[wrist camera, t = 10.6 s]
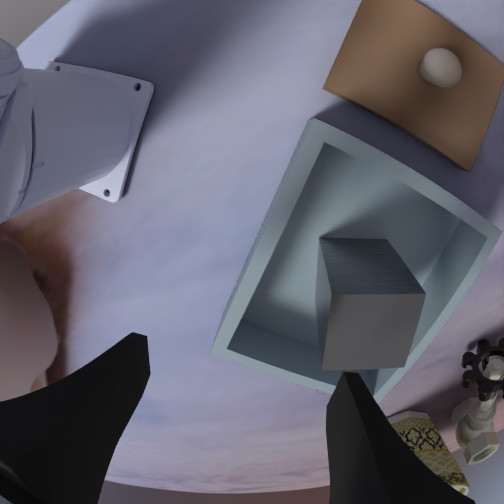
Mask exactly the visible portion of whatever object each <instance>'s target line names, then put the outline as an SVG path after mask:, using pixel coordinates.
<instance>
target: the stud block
mask: <svg viewBox="0 0 504 504" xmlns="http://www.w3.org/2000/svg"><path fill="white" fill-rule="evenodd" d="M503 82H504V66H503V65H502V64H501V63H500V62H499V61H498V60H497V59H495V58H494V57H493V56H492V55H491V54H490V53H488V52H487V51H486V50H485V49H484V48H482V47H481V46H480V45H479V44H477V43H476V42H475V41H474V40H472V39H471V38H470V37H468V36H467V35H466V34H464V33H463V32H462V31H460V30H459V29H458V28H456V27H455V26H453V25H452V24H451V23H449V22H448V21H446V20H445V19H443V18H442V17H440V16H439V15H437V14H436V13H434V12H433V11H431V10H430V9H428V8H426V7H425V6H423V5H421V4H420V3H418V2H416V1H415V0H362V1H361V3H360V5H359V8H358V10H357V12H356V14H355V17H354V19H353V21H352V23H351V26H350V28H349V30H348V32H347V35H346V37H345V39H344V41H343V44H342V46H341V48H340V50H339V53H338V55H337V57H336V59H335V62H334V64H333V66H332V68H331V71H330V73H329V75H328V77H327V80H326V82H325V84H324V86H323V89H324V90H326V91H328V92H331V93H333V94H335V95H337V96H339V97H341V98H343V99H345V100H347V101H349V102H351V103H353V104H355V105H357V106H359V107H361V108H363V109H365V110H367V111H369V112H371V113H373V114H374V115H376V116H378V117H380V118H382V119H384V120H385V121H387V122H389V123H391V124H392V125H394V126H396V127H398V128H399V129H401V130H403V131H404V132H406V133H408V134H409V135H411V136H413V137H414V138H416V139H417V140H419V141H421V142H422V143H424V144H425V145H427V146H428V147H430V148H431V149H433V150H435V151H436V152H437V153H439V154H440V155H442V156H443V157H445V158H446V159H448V160H449V161H451V162H452V163H453V164H455V165H456V166H458V167H459V168H460V169H462V170H464V171H467V172H470V171H471V169H472V167H473V164H474V162H475V160H476V157H477V155H478V153H479V150H480V148H481V145H482V143H483V140H484V138H485V135H486V132H487V130H488V127H489V124H490V122H491V119H492V116H493V113H494V110H495V107H496V104H497V101H498V98H499V95H500V92H501V89H502V85H503Z"/></svg>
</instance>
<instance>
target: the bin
mask: <svg viewBox="0 0 504 504" xmlns="http://www.w3.org/2000/svg"><path fill="white" fill-rule="evenodd" d="M501 233H502V231H501V230H500V229H498V228H497V227H496V226H495V225H493V224H492V223H491V222H489V221H488V220H487V219H485V218H484V217H483V216H481V215H480V214H479V213H477V212H476V211H475V210H473V209H472V208H471V207H469V206H468V205H466V204H465V203H463V202H462V201H461V200H459V199H458V198H456V197H455V196H453V195H452V194H450V193H449V192H447V191H446V190H444V189H443V188H441V187H440V186H438V185H437V184H435V183H434V182H432V181H431V180H429V179H427V178H426V177H424V176H423V175H421V174H419V173H418V172H416V171H415V170H413V169H411V168H410V167H408V166H406V165H404V164H403V163H401V162H399V161H398V160H396V159H394V158H392V157H391V156H389V155H387V154H385V153H383V152H382V151H380V150H378V149H376V148H374V147H372V146H371V145H369V144H367V143H365V142H363V141H361V140H359V139H357V138H355V137H353V136H351V135H349V134H347V133H345V132H343V131H341V130H339V129H337V128H335V127H333V126H331V125H329V124H327V123H324V122H322V121H320V120H318V119H316V118H313V119H310V120H308V123H307V125H306V127H305V129H304V132H303V134H302V136H301V138H300V141H299V143H298V145H297V147H296V150H295V152H294V154H293V156H292V159H291V161H290V163H289V165H288V168H287V170H286V172H285V175H284V177H283V179H282V181H281V184H280V186H279V188H278V190H277V193H276V195H275V197H274V199H273V202H272V204H271V206H270V208H269V211H268V213H267V215H266V218H265V220H264V222H263V224H262V227H261V229H260V231H259V233H258V236H257V238H256V240H255V242H254V245H253V247H252V249H251V252H250V254H249V256H248V258H247V261H246V263H245V265H244V267H243V270H242V272H241V274H240V277H239V279H238V281H237V283H236V286H235V288H234V290H233V292H232V295H231V297H230V299H229V301H228V304H227V306H226V308H225V311H224V313H223V315H222V318H221V321H220V324H219V327H218V330H217V332H216V335H215V338H214V341H213V344H212V347H211V350H210V353H212V354H214V355H217V356H219V357H222V358H225V359H227V360H230V361H233V362H235V363H238V364H241V365H243V366H246V367H249V368H252V369H254V370H257V371H260V372H263V373H266V374H269V375H272V376H275V377H278V378H281V379H284V380H287V381H290V382H293V383H296V384H299V385H303V386H306V387H309V388H312V389H316V390H319V391H323V392H326V393H330V394H333V392H334V390H335V388H336V386H337V383H338V381H339V379H340V377H341V375H342V372H343V371H345V372H356V373H359V374H360V376H361V378H362V379H363V381H364V383H365V384H366V386H367V388H368V389H369V391H370V393H371V394H372V396H373V397H374V399H375V401H376V402H377V404H378V402H379V401H380V400H381V399H382V398H383V397H384V396H385V395H386V394H387V393H388V392H389V391H390V390H391V389H392V388H393V387H394V386H395V384H396V383H397V382H398V381H399V380H400V379H401V378H402V377H403V376H404V374H405V373H406V372H407V371H408V370H409V369H410V367H411V366H412V365H413V364H414V363H415V362H416V360H417V359H418V358H419V357H420V356H421V354H422V353H423V352H424V351H425V349H426V348H427V347H428V346H429V344H430V343H431V342H432V340H433V339H434V338H435V337H436V335H437V334H438V333H439V331H440V330H441V329H442V327H443V326H444V325H445V323H446V322H447V320H448V319H449V318H450V316H451V315H452V313H453V312H454V311H455V309H456V308H457V306H458V305H459V303H460V302H461V300H462V299H463V297H464V296H465V294H466V293H467V291H468V290H469V288H470V287H471V285H472V284H473V282H474V280H475V279H476V277H477V275H478V274H479V272H480V271H481V269H482V267H483V266H484V264H485V262H486V260H487V259H488V257H489V255H490V253H491V252H492V250H493V248H494V246H495V244H496V242H497V241H498V239H499V237H500V235H501ZM319 237H323V238H364V239H387V240H388V241H389V243H390V244H391V245H392V247H393V248H394V249H395V250H396V252H397V253H398V255H399V256H400V257H401V259H402V260H403V261H404V263H405V264H406V265H407V267H408V268H409V270H410V271H411V272H412V274H413V275H414V277H415V278H416V279H417V281H418V282H419V284H420V285H421V287H422V288H423V290H424V291H425V293H426V297H425V301H424V305H423V309H422V312H421V316H420V319H419V323H418V326H417V330H416V333H415V336H414V340H413V343H412V346H411V349H410V352H409V355H408V358H407V361H406V364H405V367H402V368H387V369H368V370H328V371H322V369H321V357H320V346H319V336H318V326H317V316H316V307H315V289H316V275H317V260H318V243H319Z"/></svg>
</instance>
